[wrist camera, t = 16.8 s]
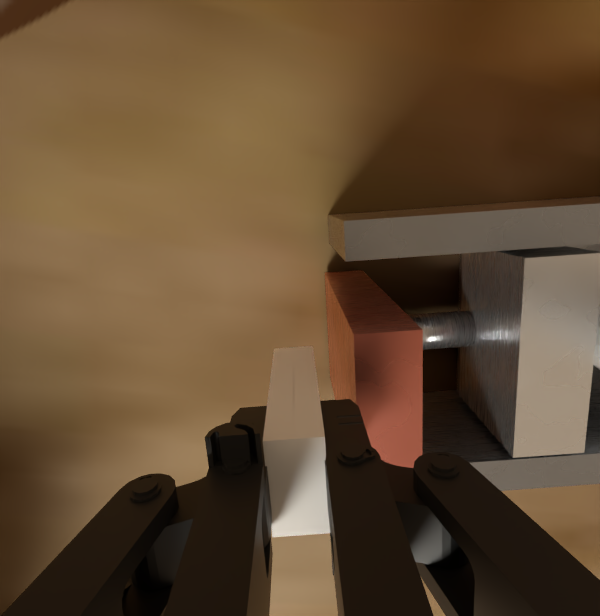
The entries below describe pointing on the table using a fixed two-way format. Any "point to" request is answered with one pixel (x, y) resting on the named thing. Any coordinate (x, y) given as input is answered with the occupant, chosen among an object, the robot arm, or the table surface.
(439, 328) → the jaw
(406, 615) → the robot arm
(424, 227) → the grey open box
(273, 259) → the table surface
